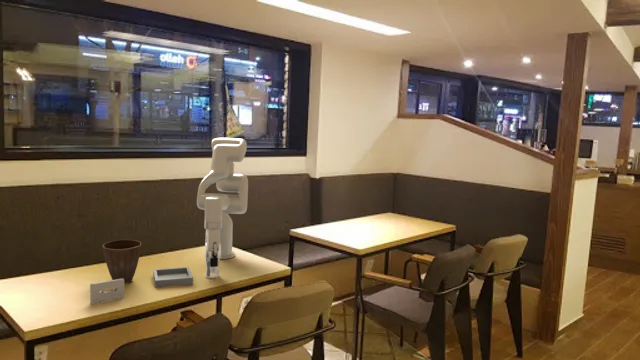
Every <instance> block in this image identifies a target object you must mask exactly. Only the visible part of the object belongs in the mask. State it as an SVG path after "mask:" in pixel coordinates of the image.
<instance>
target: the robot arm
mask: <svg viewBox="0 0 640 360" xmlns="http://www.w3.org/2000/svg"><path fill="white" fill-rule="evenodd" d="M247 148H248V145H247V140H245V139H244V138H240V137H239V138H238V137H237V138H234V137H216V138H213V139H212V140H211V150H212V154H211V156H212V157H211V162H210V163H211V165H210V171H209V173H208V174H207V175H206V176H205V177H204V178H202V180H201V182H200V183H199V185H198V189H197V194H196V195H197V197H196V206H197V208H198V209H199V210H203V211H204V225H203V226H204V229H205V242H204V244H205V243H206V244H207V251H208V252H210V251H211V258H210V267H217V266H218V252H217V251H219V245H221V257H220V260H227V259H228V260H229V259H232V258H234V257H235V256H236V253H235V252H234V251H233V228H234V227H233V223H234V222H233V219H232V218H231V216H230V214H232V215H233V214H235V215H242V214H243V215H244V214H245V213H246V212H247V210H248V201H249V200H248V198H249V179H248V176H247V175H246V174H244V173H235V170H234V169H235V163H241V162H243V160H244V158H245V156H246V154H247V153H246V152H247ZM213 184H216V185H215V188H216V190H217V191H219V192H225V193H237V194H225V193H214V192H213V193H211V192H210V193H209V192H207V193H206V190H207V189H208V187H210V186H211V185H213ZM213 248H214V251H212V249H213ZM217 249H218V250H217ZM212 252H214V253H213V254H212Z"/></svg>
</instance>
